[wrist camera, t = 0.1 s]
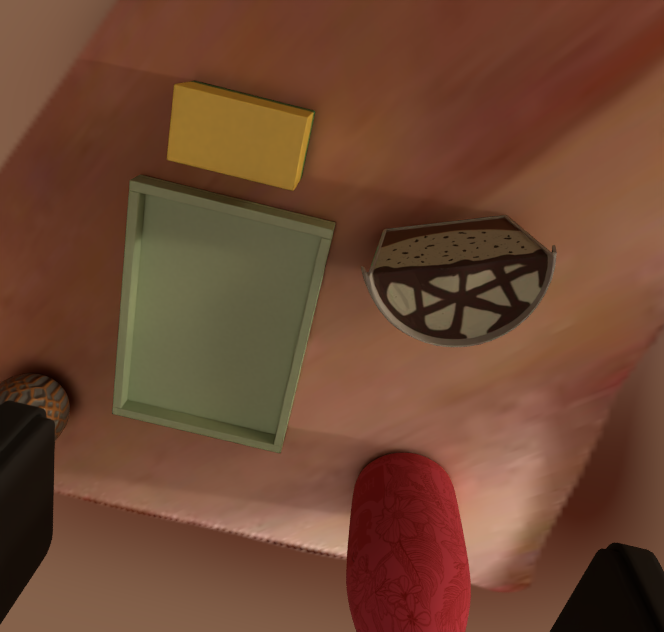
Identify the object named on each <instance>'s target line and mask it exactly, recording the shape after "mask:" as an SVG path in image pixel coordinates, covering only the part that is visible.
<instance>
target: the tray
mask: <svg viewBox="0 0 664 632" xmlns="http://www.w3.org/2000/svg"><path fill="white" fill-rule="evenodd" d="M335 224H336V223H335V222H331V221H327V220H323V219H319V218H315V217H311V216H307V215H303V214H299V213H295V212H290V211H286V210H282V209H278V208H274V207H270V206H266V205H262V204H258V203H254V202H250V201H246V200H242V199H238V198H234V197H229V196H225V195H221V194H217V193H213V192H209V191H205V190H201V189H197V188H193V187H189V186H185V185H181V184H177V183H173V182H169V181H164V180H160V179H156V178H152V177H148V176H144V175H139V176H137V177H135V178H133V179H131V180H130V184H129V198H128V211H127V224H126V238H125V251H124V264H123V278H122V291H121V304H120V317H119V331H118V344H117V357H116V371H115V384H114V397H113V409H112V414H115V415H119V416H124V417H128V418H132V419H136V420H141V421H145V422H149V423H153V424H157V425H162V426H166V427H170V428H174V429H179V430H183V431H187V432H191V433H196V434H200V435H204V436H208V437H213V438H217V439H221V440H225V441H230V442H234V443H238V444H242V445H247V446H251V447H255V448H259V449H264V450H268V451H272V452H276V453H281V450H282V446H283V442H284V438H285V433H286V429H287V425H288V421H289V417H290V413H291V408H292V404H293V400H294V396H295V392H296V387H297V383H298V379H299V375H300V371H301V366H302V362H303V358H304V354H305V350H306V345H307V341H308V337H309V333H310V329H311V324H312V320H313V316H314V312H315V308H316V304H317V299H318V295H319V291H320V287H321V283H322V278H323V274H324V270H325V266H326V262H327V257H328V253H329V249H330V245H331V241H332V236H333V232H334V228H335Z"/></svg>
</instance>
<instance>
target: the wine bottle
mask: <svg viewBox="0 0 664 632" xmlns="http://www.w3.org/2000/svg"><path fill="white" fill-rule="evenodd" d="M346 584H347V595H348V602H349V607H350V611H351V615H352V619H353V622H354V625H355V629H356V632H465V630H466V625H467V620H468V615H469V608H470V598H471V583H470V572H469V564H468V558H467V551H466V546H465V540H464V535H463V529H462V524H461V519H460V514H459V509H458V504H457V499H456V495H455V491H454V487H453V484H452V482H451V480H450V478H449V476H448V474H447V473H446V472H445V471H444V469H443V468H442V467H441V466H440V465H438V464H437V463H436V462H434V461H432V460H431V459H429V458H426V457H424V456H421V455H418V454H413V453H393V454H388V455H385V456H382V457H380V458H378V459H376V460H374V461H372V462H371V463H369V464H368V465H367V466H366V467H365V468H364V469H363V470H362V471H361V473H360V475H359V476H358V479H357V481H356V484H355V487H354V493H353V499H352V508H351V517H350V527H349V538H348V550H347V570H346Z"/></svg>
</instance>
